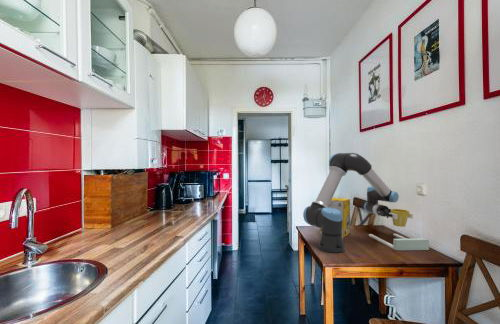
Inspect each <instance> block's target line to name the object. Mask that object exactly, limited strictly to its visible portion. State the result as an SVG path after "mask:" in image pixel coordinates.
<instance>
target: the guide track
mask: <svg viewBox="0 0 500 324" xmlns="http://www.w3.org/2000/svg"><path fill="white" fill-rule="evenodd" d="M392 235H393V236H394V237H395V238H393V239H392V240H393V241H392V243H390V242H388V241H386V240H384V239H382V238H380V237H378V236H376V235H374V234H372V233H368V236H369V237H370V238H372V239H374V240H376V241H378V242H380V243H381V244H383V245H385V246H387V247H389V248H391V249H393V250H395V251H429V250H430V239H428V238H427V237H426V238H422V237H421V238H420V237H419V238H413V237H412V238H407V237H405V236H402V235H401V234H397V233H393V234H392Z"/></svg>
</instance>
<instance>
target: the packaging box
mask: <svg viewBox="0 0 500 324" xmlns="http://www.w3.org/2000/svg"><path fill="white" fill-rule="evenodd" d="M328 208H334V209H337V210H339V211H341V213H342V238H343V239H345V238H346V237H347V236H349V235H350V234H351V199H350V198H340V197H332V199H331V202H330V204H329V206H328ZM321 232H322V231H321V228H319V235H320V234H321ZM349 233H350V234H349ZM348 234H349V235H348ZM345 236H346V237H345ZM344 237H345V238H344Z"/></svg>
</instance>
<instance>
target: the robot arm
mask: <svg viewBox="0 0 500 324" xmlns="http://www.w3.org/2000/svg"><path fill="white" fill-rule="evenodd" d="M328 166H329V167H328V169H329V173H328V174H327V177H326V179H325V181H324V183H323V185H322V187H321V188H320V191H319V193H318V195H317V198H315V201H314V200H313V201H312V202H311V204H310V205H308V206H306V207H305V208H304V210H303V214H302V216H303V220H304V222H305V223H307V225H309V226H312V227H316V228H319V229H320V228H321V231H322V232H321V235H320V238H319V241H318V245H317V246H318V247H317V248H318V249H319V250H321V251H322V252H327V253H335V254H336V253H343V252H344V251H346V244H345V243H344V238H342V213H341V211H339V210H337V209H334V208H328V206H329V204H330V202H331V199H332V198H334V195H335V193H336V191H337V189H338V186H339V184H340V183H341V180H342V178H343V177H345V176H346V175H347V174H348V171H350V172H351V171H353V172H356V173H357V174H358V175H360V176H362V177H363V178H364V179H365V181H367V183H368V184H370V186H367V187H366V188H367V189H366V202H365V203H364V205H363V208H364V211H365V212H367V213H369V214H373V215H377V216H380V217H383V218H385V217H386V218H387V219H389V218H391V219H392V218H394V219H397V214H393V213H391V209H392V208H389V207H388V206H387V205H384V204H380V203H379V201H381V202H387V203H397V202H398V200H399V198H400V195H399V193H398V192H397V191H394V190H393V191H392V190H391V189H390V187H388V185H387V184H386V183H385V181H383V179H382V178H381V177H380V176H379V175H378V173H377V172H376V171H375V170H374V169H373V168H372V167H373V165H372V164H371V163H370V162H369V161H368V160H367V159H366V158H365V157H364V156H362V155H361V154H358V153H355V152H345V153H344V152H338V153H334V154H332V155H331V156H330V157H329V160H328ZM407 219H411V220H412V219H414V214H413V213H410V212H409V217H408V218H407Z"/></svg>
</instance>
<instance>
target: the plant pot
mask: <svg viewBox="0 0 500 324" xmlns="http://www.w3.org/2000/svg"><path fill="white" fill-rule="evenodd" d="M390 209H391V213H393V214H397V219H394V218H391V219H392V224H393V226H395V227H400V228H401V227H403V228H405V227H406V225H407V221H408V219H409V218H408V217H409V213H410V210H407V209H404V208H403V209H401V208H390Z"/></svg>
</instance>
